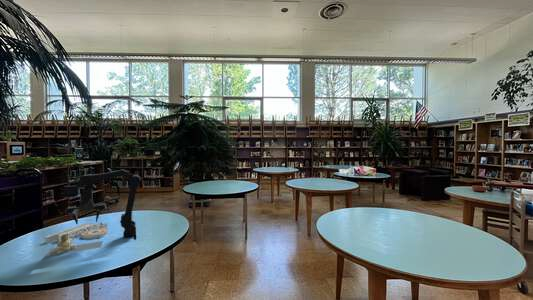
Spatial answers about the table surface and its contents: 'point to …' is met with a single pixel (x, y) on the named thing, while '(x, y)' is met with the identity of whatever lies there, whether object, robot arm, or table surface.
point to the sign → (80, 232)
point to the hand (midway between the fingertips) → (86, 223)
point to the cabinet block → (64, 244)
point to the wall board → (76, 248)
